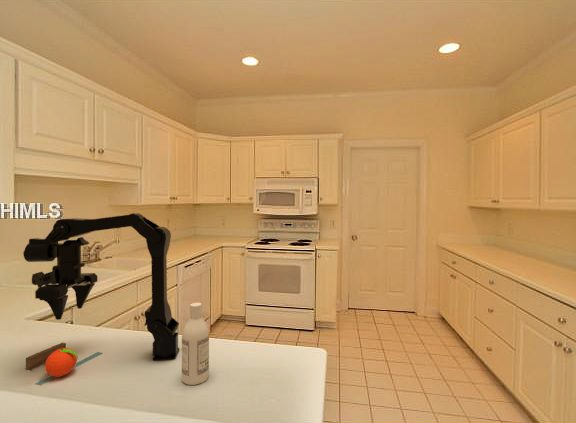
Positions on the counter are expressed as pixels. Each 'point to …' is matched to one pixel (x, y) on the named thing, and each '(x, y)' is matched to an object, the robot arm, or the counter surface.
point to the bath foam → (195, 348)
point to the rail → (41, 357)
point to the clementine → (61, 362)
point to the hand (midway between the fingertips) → (69, 313)
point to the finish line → (74, 367)
